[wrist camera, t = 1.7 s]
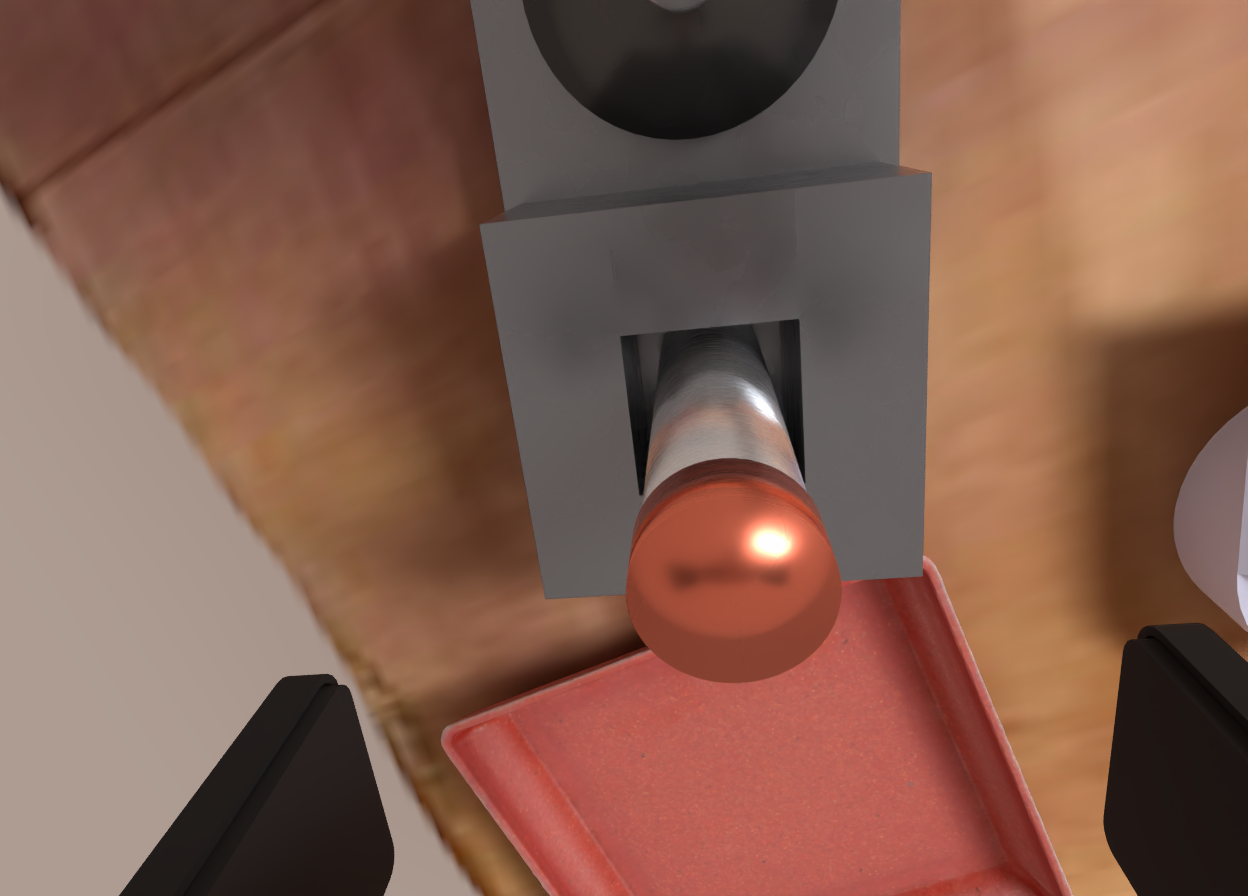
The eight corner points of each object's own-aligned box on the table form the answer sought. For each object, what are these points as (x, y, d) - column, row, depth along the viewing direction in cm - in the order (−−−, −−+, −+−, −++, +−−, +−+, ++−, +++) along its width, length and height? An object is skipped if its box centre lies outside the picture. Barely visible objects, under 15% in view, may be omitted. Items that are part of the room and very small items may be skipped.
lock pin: (651, 309, 24) (613, 507, 12) (760, 298, 24) (839, 490, 11) (662, 411, 25) (637, 687, 13) (766, 402, 25) (844, 678, 12)
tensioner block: (454, -158, 21) (366, -264, 15) (890, -231, 20) (974, -376, 14) (560, 501, 28) (527, 600, 22) (887, 477, 27) (942, 575, 21)
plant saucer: (1055, 861, 33) (1093, 938, 30) (656, 970, 37) (653, 1047, 34) (901, 497, 27) (928, 545, 24) (453, 673, 31) (428, 733, 28)
